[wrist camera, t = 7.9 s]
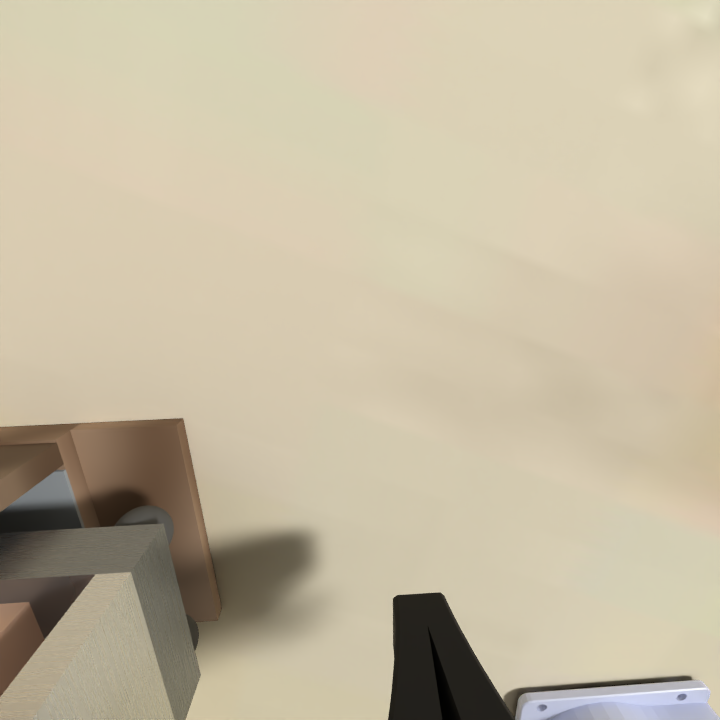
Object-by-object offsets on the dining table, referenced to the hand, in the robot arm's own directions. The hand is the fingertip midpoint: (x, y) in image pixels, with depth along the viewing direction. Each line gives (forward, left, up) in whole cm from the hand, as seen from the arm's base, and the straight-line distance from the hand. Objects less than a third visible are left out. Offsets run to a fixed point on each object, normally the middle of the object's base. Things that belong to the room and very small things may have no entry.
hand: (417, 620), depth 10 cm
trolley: (+11, 0, -2) cm, 11 cm away
